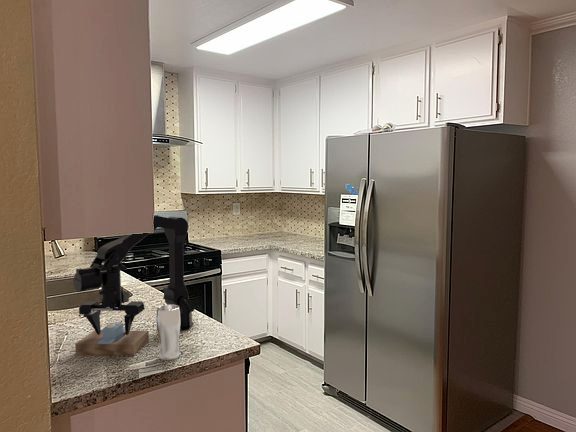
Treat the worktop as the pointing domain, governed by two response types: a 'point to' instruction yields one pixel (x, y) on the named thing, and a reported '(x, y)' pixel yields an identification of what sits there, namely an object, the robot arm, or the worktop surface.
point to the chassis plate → (112, 344)
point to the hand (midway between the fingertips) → (113, 334)
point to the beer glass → (168, 331)
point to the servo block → (112, 333)
